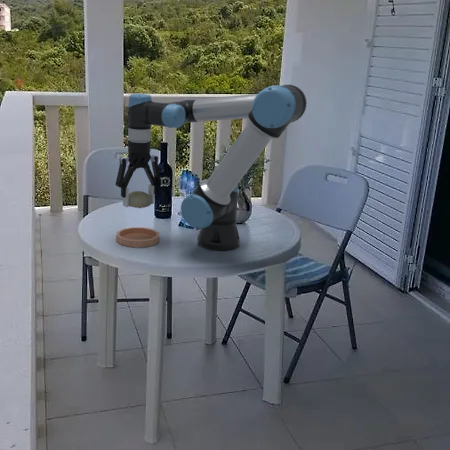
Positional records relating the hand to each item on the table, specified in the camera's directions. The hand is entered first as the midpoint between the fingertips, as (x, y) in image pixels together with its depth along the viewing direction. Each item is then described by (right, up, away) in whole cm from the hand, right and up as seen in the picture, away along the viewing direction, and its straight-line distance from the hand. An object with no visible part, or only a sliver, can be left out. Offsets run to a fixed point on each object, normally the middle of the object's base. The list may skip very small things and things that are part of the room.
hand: (138, 204), depth 200 cm
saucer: (-1, -13, +4) cm, 13 cm away
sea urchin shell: (0, -1, 0) cm, 1 cm away
